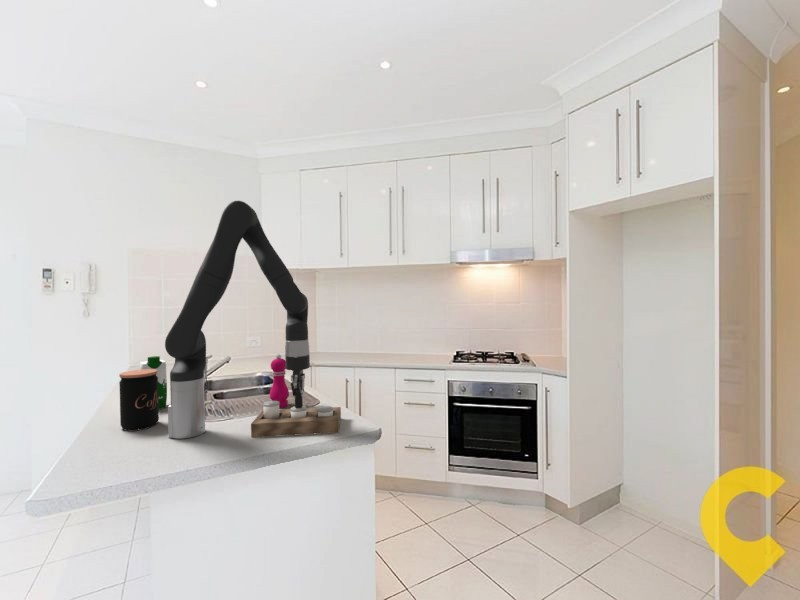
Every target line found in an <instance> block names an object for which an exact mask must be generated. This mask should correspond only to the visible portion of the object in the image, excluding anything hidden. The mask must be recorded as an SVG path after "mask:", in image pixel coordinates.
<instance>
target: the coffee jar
mask: <svg viewBox="0 0 800 600" xmlns="http://www.w3.org/2000/svg"><path fill="white" fill-rule="evenodd" d="M157 372H158V370H155V369H143V370H140V369H135V370H128V371H127V370H126V371H124V372H121V373H119V376H118V377H119V378H120V381H119V414H120V415H119V416H120V420H119V421H120V427H121V428H122V429H123V430H124V429H126V430H125V431H129V430H132V431H139V430H138V429H141V430H145V428H146V429H149V428H151V427H154V426H156V425H157V423H158V422H159V419H160V416H159V415H160V414H159V413H160V411H159V410H160V409H159V405H158V377H157V376H156V374H157ZM148 427H149V428H148Z"/></svg>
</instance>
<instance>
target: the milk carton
mask: <svg viewBox="0 0 800 600" xmlns="http://www.w3.org/2000/svg"><path fill="white" fill-rule="evenodd" d="M160 357H161V356H159V355H158V356H154V355H153V356H148V357H147V361H140V362H139V370H143V369H155V370H158V372H157V374H156V376H157V377H158V405H159V410H160V409H166V408H167V398H168V385H167V384H168V383H167V381H168V379H167V378H168V377H167V375H168V374H167V362H166V361H165V360H164V359H161V358H160Z"/></svg>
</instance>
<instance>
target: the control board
mask: <svg viewBox="0 0 800 600" xmlns="http://www.w3.org/2000/svg"><path fill="white" fill-rule="evenodd" d="M318 408H319V407H315V408H314V407H313V408H309V407H308V408H306V417H300V418H291V408H289V409H279V419H264V410H262V411H261V412H260V413H259V414H258V415H257V416H256V418H255V419H253V421H251V423H250V436H251V438H259V437H261V438H262V436H264V437H277V436H276V435H283V436H296V435H295V434H302V435H315V434H314V433H321V434H336V433H338V432H339V431H340V428H341V426H340V425H341V420H342V413H341V412H342V411H341V409H342V408H341V406H335V407H334V406H333V416H321V417H318ZM338 434H339V433H338Z"/></svg>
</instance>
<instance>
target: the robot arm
mask: <svg viewBox="0 0 800 600" xmlns="http://www.w3.org/2000/svg"><path fill="white" fill-rule="evenodd" d="M221 212H222V213H221V215H220V219H219V222H218V226H217V228H216V231H215V235H214V237H213V240H212V242H211V244H210V246H209V247H208V249H207V252H206V254H205V255H204V258H203V261H202V263H201V265H200V267H199V269H198V271H197V272H196V275H195V277H194V280H193V282H192V285H191V288H190V290H189V292H188V295H187V296H186V299H185V302H184V304H183V306H182V309H181V311H180V313H179V315H178V317H177V318H176V320H175V321H174V323H173V325H172V327H171V329H170V330H169V332H168V334H167V336H166V337H165V341H164V348H165V351H166V352H167V354H168V355H169V356H170V357H171V358H174V363H173V366H172V369H171V370H170V372H169V383H170V385H169V386H170V404H169V405H168V406H167V421H168V422H167V427H168V431H167V432H168V433H167V435H168V438H173V439H179V440H180V439H181V440H182V439H190V438H195V437H198V436H200V435H203V434H204V433H205V432H206V415H205V413H206V412H205V405H206V404H205V377H204V376H205V375H204V373H205V369H206V363H207V340H206V336H205V334H204V332H203V330H202V329H203V325H204V324H205V321H206V320H207V318H208V316H209V315H210V313H211V312H212V311H213V310H214V308H215V307H216V306H217V304H218V303H219V302H220V301H221V299H222V297H223V296H224V294H225V292H226V290H227V289H228V286H229V283H230V281H231V279H232V275H233V272H234V267H235V260H236V255H237V251H238V248H239V245H240V243H241V241H242V239H243V241H244V242H245V243H246V244H247V245H248V247H249V249H250V250H251V251H252V254H253V255H254V258H255V259H256V262H257V263H258V266H259V268H260V270H261V272H262V273H263V275H264V277H265V278H266V279H267V281H268V282H269V284H270V286H271V287H272V288H273V289H274V291H275V294H276V295H277V297H278V299H279V302H280V303H281V305H282V306H283V308H284V310H285V311H286V324H285V345H284V347H285V348H284V349H285V350H284V351H285V355H284V357H285V359H284V360H285V361H286V369H285V370H287V371H292V375H290V381H291V382H290V387H291V392H292V397H293V398H294V406H295V408H302V406H304V403H303V401H304V399H303V396H304V392H305V378H306V373H304V370H307V369H309V368H310V366H311V365H310V364H311V361H310V342H309V327H308V326H309V325H308V318H309V316H308V315H309V301H308V298H307V296H306V295H305V294H304V293H303V292H302V291H301V289H300V288H299V287H298V286H297V284H296V283H295V281H294V277H293V276H292V274H291V272H290V270H289V269H288V268H287V266H286V264H285V263H284V261H283V260H282V259H281V257H280V256H279V254H278V253H277V251H276V250H275V248H274V247H273V246H272V244H271V242H270V240H269V239H268V237H267V234H266V233H265V231H264V229H263V227H262V224H261V221H260V220H259V217H258V214H257V212H256V210H255V209H254V208H252V207H251V206H250V204H248V203H246V202H245V201H242V200H234V201H233V200H232V201H231V202H229V203H227V205H226V206H225V207H224V208H223V210H222V211H221Z"/></svg>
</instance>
